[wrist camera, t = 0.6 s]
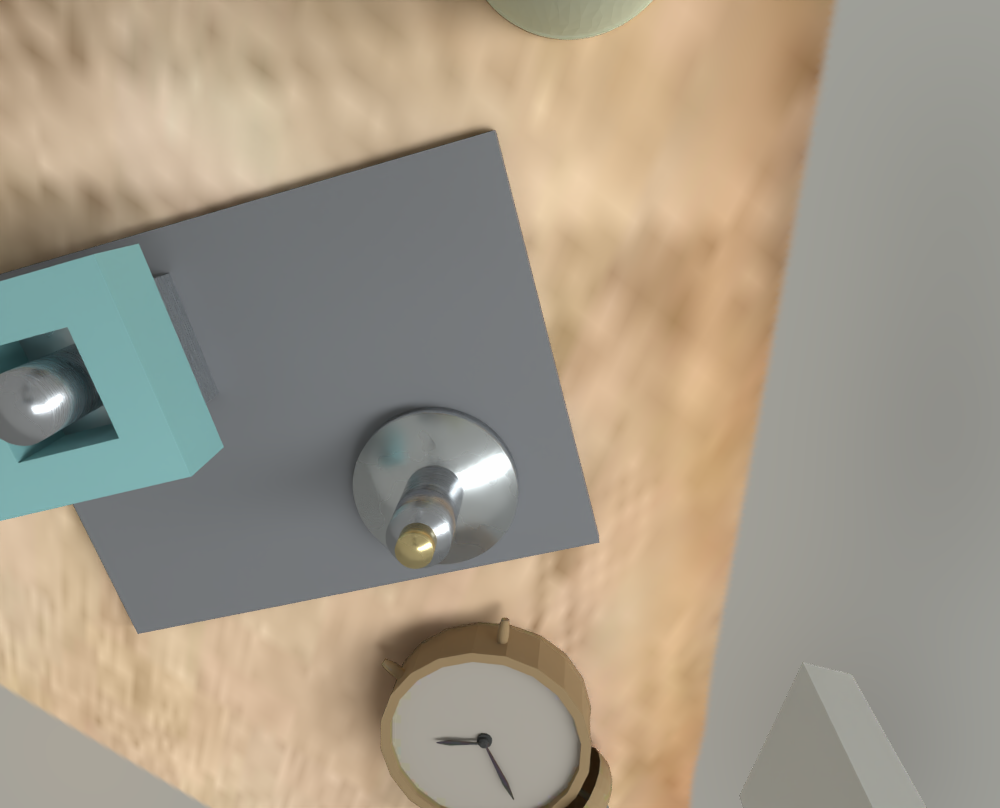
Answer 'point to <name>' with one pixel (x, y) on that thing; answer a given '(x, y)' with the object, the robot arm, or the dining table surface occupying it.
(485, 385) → the mat
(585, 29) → the can
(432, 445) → the bell
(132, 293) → the teal square collar
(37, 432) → the stand
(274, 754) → the dining table surface
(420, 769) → the alarm clock
